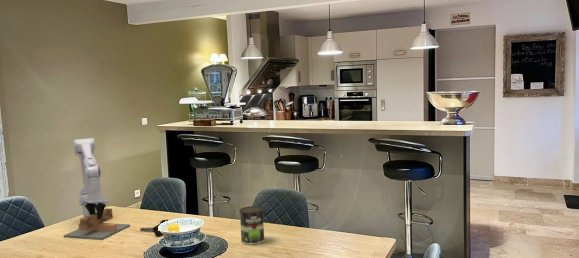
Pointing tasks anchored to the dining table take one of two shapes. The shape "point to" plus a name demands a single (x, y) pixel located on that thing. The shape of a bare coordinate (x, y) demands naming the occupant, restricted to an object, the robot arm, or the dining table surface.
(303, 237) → the dining table surface
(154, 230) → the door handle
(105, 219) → the walnut beam
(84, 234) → the stand
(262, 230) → the coffee can
